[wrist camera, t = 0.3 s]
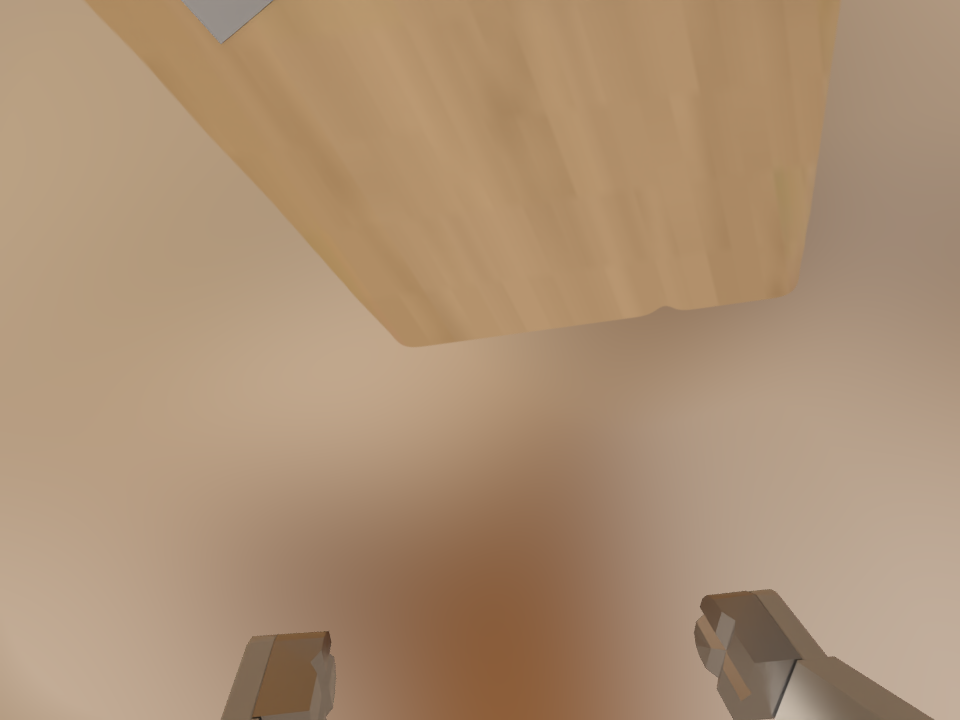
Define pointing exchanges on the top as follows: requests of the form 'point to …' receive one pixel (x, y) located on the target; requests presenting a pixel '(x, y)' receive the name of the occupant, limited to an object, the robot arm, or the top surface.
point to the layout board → (225, 14)
